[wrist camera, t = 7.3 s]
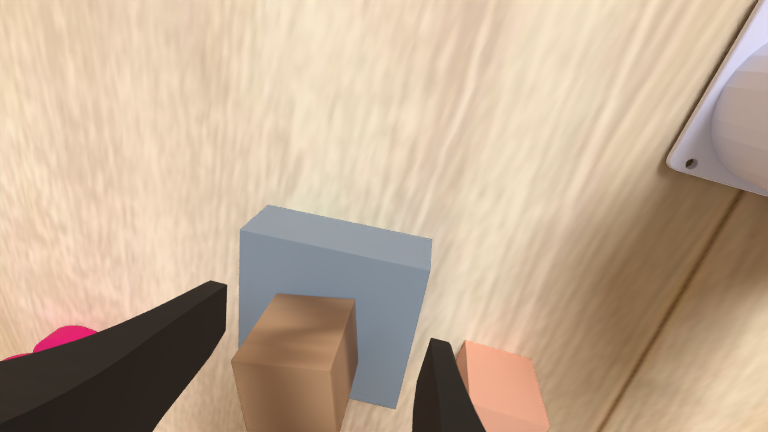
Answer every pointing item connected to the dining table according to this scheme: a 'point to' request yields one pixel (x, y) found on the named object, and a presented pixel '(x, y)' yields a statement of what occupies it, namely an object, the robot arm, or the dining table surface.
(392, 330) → the base block
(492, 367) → the terracotta block
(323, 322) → the walnut block
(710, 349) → the dining table surface
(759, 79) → the robot arm
